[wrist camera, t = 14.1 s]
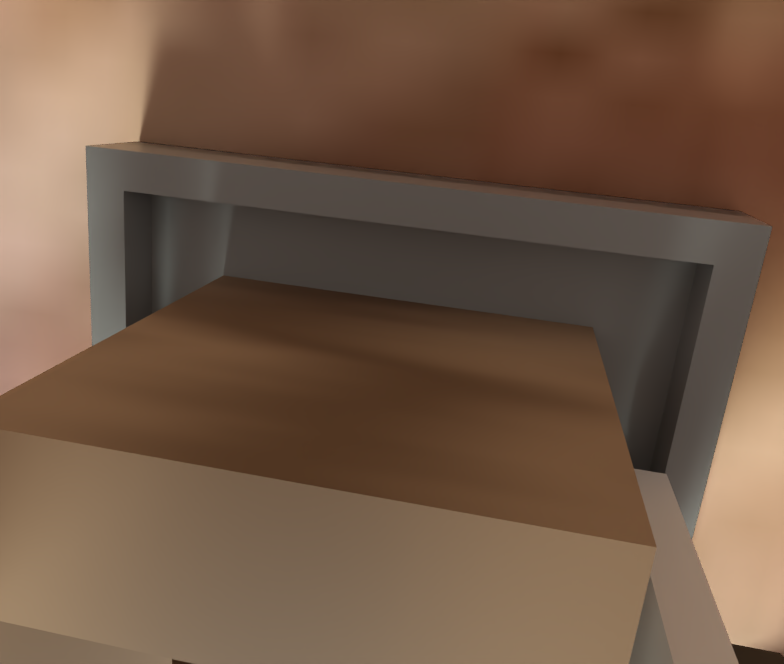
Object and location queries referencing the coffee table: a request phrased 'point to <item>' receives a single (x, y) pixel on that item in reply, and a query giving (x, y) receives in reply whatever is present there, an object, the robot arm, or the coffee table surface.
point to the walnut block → (321, 490)
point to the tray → (450, 267)
